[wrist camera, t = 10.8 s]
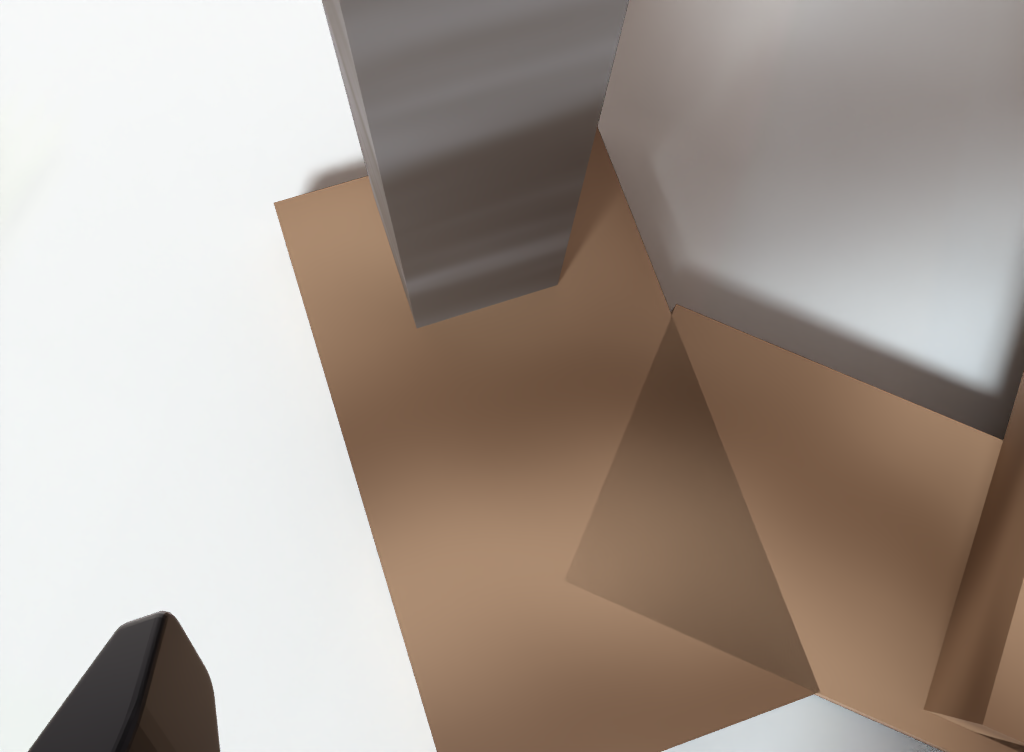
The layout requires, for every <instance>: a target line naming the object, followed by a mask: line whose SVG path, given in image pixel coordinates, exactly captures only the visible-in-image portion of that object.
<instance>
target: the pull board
mask: <svg viewBox="0 0 1024 752" xmlns="http://www.w3.org/2000/svg"><path fill="white" fill-rule="evenodd" d="M628 2H629V0H322V3H323V7H324V11H325V15H326V18H327V22H328V26H329V30H330V33H331V37H332V41H333V45H334V49H335V52H336V56H337V60H338V64H339V67H340V71H341V75H342V79H343V82H344V86H345V90H346V94H347V97H348V101H349V105H350V109H351V112H352V116H353V120H354V124H355V128H356V131H357V135H358V139H359V143H360V146H361V150H362V154H363V158H364V161H365V165H366V169H367V173H368V176H365V177H362V178H358V179H355V180H351V181H348V182H344V183H341V184H338V185H334V186H331V187H327V188H324V189H320V190H317V191H313V192H310V193H306V194H303V195H299V196H296V197H292V198H289V199H286V200H282V201H279V202H275V203H274V205H275V209H276V212H277V216H278V219H279V222H280V226H281V229H282V232H283V236H284V239H285V242H286V246H287V249H288V252H289V256H290V259H291V263H292V266H293V269H294V273H295V276H296V279H297V283H298V286H299V289H300V293H301V296H302V300H303V303H304V306H305V310H306V313H307V316H308V320H309V323H310V326H311V330H312V333H313V337H314V340H315V343H316V347H317V350H318V353H319V357H320V360H321V363H322V367H323V370H324V373H325V377H326V380H327V384H328V387H329V390H330V394H331V397H332V400H333V404H334V407H335V410H336V414H337V417H338V421H339V424H340V427H341V431H342V434H343V437H344V441H345V444H346V447H347V451H348V454H349V457H350V461H351V464H352V468H353V471H354V474H355V478H356V481H357V484H358V488H359V491H360V494H361V498H362V501H363V505H364V508H365V511H366V515H367V518H368V521H369V525H370V528H371V531H372V535H373V538H374V542H375V545H376V548H377V552H378V555H379V558H380V562H381V565H382V568H383V572H384V575H385V578H386V582H387V585H388V589H389V592H390V595H391V599H392V602H393V605H394V609H395V612H396V615H397V619H398V622H399V626H400V629H401V632H402V636H403V639H404V642H405V646H406V649H407V652H408V656H409V659H410V663H411V666H412V669H413V673H414V676H415V679H416V683H417V686H418V689H419V693H420V696H421V699H422V703H423V706H424V710H425V713H426V716H427V720H428V723H429V726H430V730H431V733H432V736H433V740H434V743H435V747H436V750H437V752H661V751H664V750H667V749H669V748H672V747H675V746H677V745H680V744H683V743H685V742H688V741H691V740H693V739H696V738H699V737H701V736H704V735H707V734H709V733H712V732H715V731H717V730H720V729H723V728H725V727H728V726H731V725H733V724H736V723H739V722H741V721H744V720H747V719H749V718H752V717H755V716H757V715H760V714H763V713H765V712H768V711H771V710H773V709H776V708H779V707H781V706H784V705H787V704H789V703H792V702H795V701H797V700H800V699H803V698H805V697H808V696H811V695H813V694H815V695H817V696H819V697H821V698H824V699H826V700H828V701H830V702H833V703H835V704H837V705H840V706H842V707H844V708H846V709H849V710H851V711H853V712H855V713H858V714H860V715H862V716H864V717H867V718H869V719H871V720H873V721H876V722H878V723H880V724H883V725H885V726H887V727H889V728H892V729H894V730H896V731H898V732H901V733H903V734H905V735H907V736H910V737H912V738H914V739H916V740H919V741H921V742H923V743H925V744H928V745H930V746H932V747H935V748H937V749H939V750H941V751H944V752H1024V372H1023V375H1022V378H1021V382H1020V385H1019V388H1018V392H1017V395H1016V399H1015V402H1014V405H1013V409H1012V412H1011V416H1010V419H1009V422H1008V426H1007V429H1006V432H1005V436H1004V439H1003V440H1001V439H999V438H997V437H994V436H992V435H989V434H987V433H985V432H982V431H980V430H977V429H975V428H973V427H970V426H968V425H965V424H963V423H961V422H958V421H956V420H953V419H951V418H949V417H946V416H944V415H941V414H939V413H937V412H934V411H932V410H929V409H927V408H925V407H922V406H920V405H917V404H915V403H913V402H910V401H908V400H905V399H903V398H901V397H898V396H896V395H893V394H891V393H889V392H886V391H884V390H881V389H879V388H877V387H874V386H872V385H869V384H867V383H865V382H862V381H860V380H857V379H855V378H853V377H850V376H848V375H845V374H843V373H841V372H838V371H836V370H833V369H831V368H829V367H826V366H824V365H821V364H819V363H817V362H814V361H812V360H809V359H807V358H805V357H802V356H800V355H797V354H795V353H793V352H790V351H788V350H785V349H783V348H781V347H778V346H776V345H773V344H771V343H769V342H766V341H764V340H761V339H759V338H757V337H754V336H752V335H749V334H747V333H745V332H742V331H740V330H737V329H735V328H733V327H730V326H728V325H725V324H723V323H721V322H718V321H716V320H713V319H711V318H709V317H706V316H704V315H701V314H699V313H697V312H694V311H692V310H690V309H687V308H685V307H682V306H680V305H678V304H676V306H675V307H674V309H673V310H672V312H670V309H669V307H668V304H667V302H666V299H665V297H664V294H663V292H662V289H661V287H660V284H659V281H658V279H657V276H656V274H655V271H654V269H653V266H652V264H651V261H650V259H649V256H648V254H647V251H646V249H645V246H644V243H643V241H642V238H641V236H640V233H639V231H638V228H637V226H636V223H635V221H634V218H633V216H632V213H631V211H630V208H629V205H628V203H627V200H626V198H625V195H624V193H623V190H622V188H621V185H620V183H619V180H618V178H617V175H616V173H615V170H614V167H613V165H612V162H611V160H610V157H609V155H608V152H607V150H606V147H605V145H604V142H603V140H602V137H601V134H600V132H599V129H598V127H597V126H598V122H599V118H600V114H601V110H602V106H603V102H604V98H605V94H606V90H607V86H608V82H609V78H610V74H611V70H612V66H613V62H614V58H615V54H616V50H617V46H618V42H619V38H620V34H621V30H622V26H623V22H624V18H625V14H626V10H627V6H628Z"/></svg>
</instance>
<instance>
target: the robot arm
mask: <svg viewBox="0 0 1024 752" xmlns="http://www.w3.org/2000/svg"><path fill="white" fill-rule="evenodd" d="M28 752H220V745H219V736H218V726H217V716H216V706H215V697H214V691H213V686H212V682H211V679H210V676H209V674H208V671H207V669H206V667H205V666H204V664H203V662H202V661H201V659H200V657H199V655H198V654H197V652H196V650H195V649H194V647H193V645H192V644H191V642H190V640H189V638H188V637H187V635H186V633H185V632H184V630H183V628H182V626H181V625H180V623H179V622H178V620H177V619H176V618H175V617H174V616H173V615H172V614H171V613H170V612H166V611H160V612H157V613H154V614H151V615H148V616H145V617H142V618H139V619H136V620H133V621H130V622H127V623H125V624H123V625H121V626H120V627H119V628H118V629H117V630H116V632H115V633H114V634H113V635H112V637H111V638H110V639H109V641H108V642H107V644H106V645H105V646H104V648H103V649H102V650H101V652H100V653H99V655H98V656H97V657H96V659H95V660H94V661H93V663H92V664H91V666H90V667H89V668H88V670H87V671H86V672H85V674H84V675H83V677H82V678H81V679H80V681H79V682H78V683H77V685H76V686H75V688H74V689H73V690H72V692H71V693H70V694H69V696H68V697H67V698H66V700H65V701H64V703H63V704H62V705H61V707H60V708H59V709H58V711H57V712H56V714H55V715H54V716H53V718H52V719H51V720H50V722H49V723H48V725H47V726H46V727H45V729H44V730H43V731H42V733H41V734H40V736H39V737H38V738H37V740H36V741H35V742H34V744H33V745H32V747H31V748H30V749H29V751H28Z"/></svg>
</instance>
